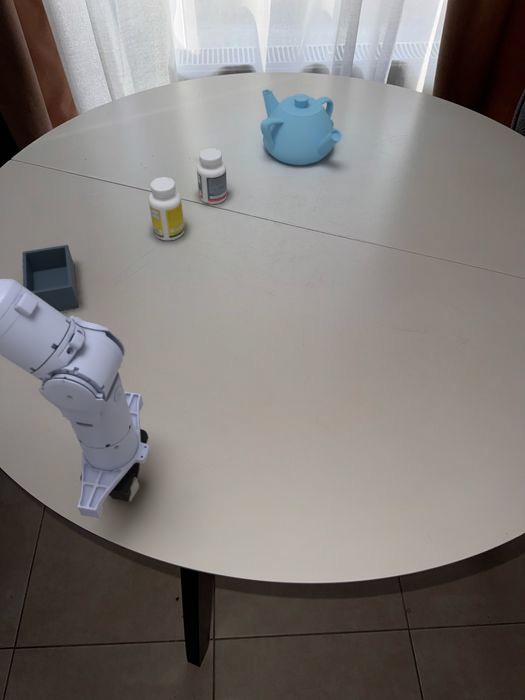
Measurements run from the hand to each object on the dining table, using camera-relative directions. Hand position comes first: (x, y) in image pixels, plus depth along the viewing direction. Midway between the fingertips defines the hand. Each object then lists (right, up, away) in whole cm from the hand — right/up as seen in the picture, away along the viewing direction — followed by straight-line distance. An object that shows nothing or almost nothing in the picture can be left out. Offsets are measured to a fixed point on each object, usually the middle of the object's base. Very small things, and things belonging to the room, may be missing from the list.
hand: (125, 485), depth 69 cm
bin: (-17, +26, +23) cm, 39 cm away
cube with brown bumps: (0, -1, +1) cm, 2 cm away
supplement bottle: (0, +37, +33) cm, 50 cm away
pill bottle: (+7, +45, +40) cm, 61 cm away
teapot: (+24, +58, +51) cm, 80 cm away
